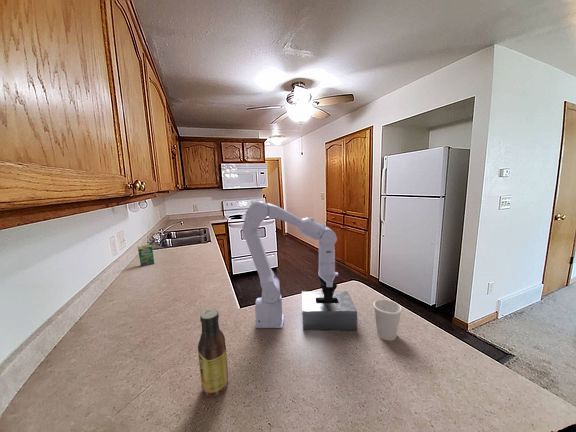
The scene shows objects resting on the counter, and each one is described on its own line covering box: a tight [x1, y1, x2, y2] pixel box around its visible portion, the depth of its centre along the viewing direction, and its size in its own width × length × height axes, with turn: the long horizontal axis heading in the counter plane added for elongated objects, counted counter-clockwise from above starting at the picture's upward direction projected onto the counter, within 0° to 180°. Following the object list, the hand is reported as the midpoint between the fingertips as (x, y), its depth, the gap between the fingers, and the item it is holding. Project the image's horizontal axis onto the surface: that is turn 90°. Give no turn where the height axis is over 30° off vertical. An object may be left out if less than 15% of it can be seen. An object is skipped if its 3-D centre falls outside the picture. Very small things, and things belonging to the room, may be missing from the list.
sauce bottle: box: [197, 308, 229, 398], centre depth 53 cm, size 6×6×20 cm
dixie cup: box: [373, 299, 403, 342], centre depth 71 cm, size 8×8×10 cm
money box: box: [301, 290, 358, 332], centre depth 81 cm, size 18×14×7 cm
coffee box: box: [137, 244, 155, 267], centre depth 146 cm, size 8×3×13 cm, turn 125°
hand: (326, 297), depth 80 cm, fingers open, 6 cm apart
